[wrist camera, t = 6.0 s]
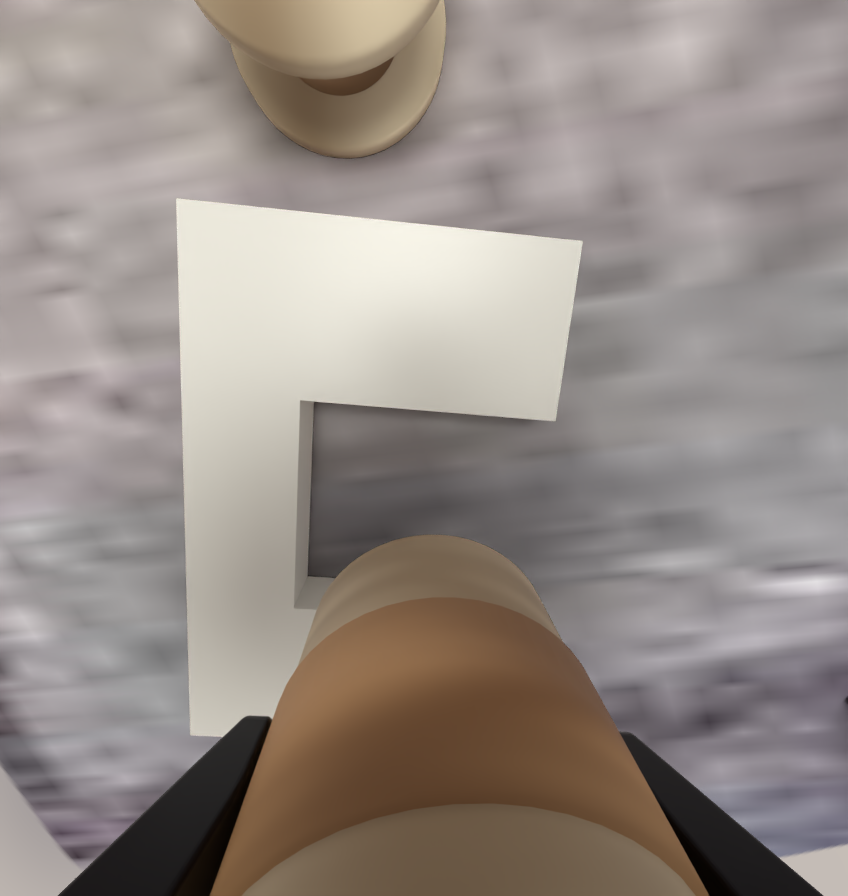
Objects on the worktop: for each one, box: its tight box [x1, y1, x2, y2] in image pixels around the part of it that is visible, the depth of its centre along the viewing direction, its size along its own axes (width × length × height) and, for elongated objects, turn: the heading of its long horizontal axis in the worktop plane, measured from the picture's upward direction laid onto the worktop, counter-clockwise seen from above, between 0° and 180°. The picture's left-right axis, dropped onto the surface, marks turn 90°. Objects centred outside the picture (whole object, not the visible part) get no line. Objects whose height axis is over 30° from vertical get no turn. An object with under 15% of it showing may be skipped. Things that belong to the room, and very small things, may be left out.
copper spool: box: [210, 535, 709, 896], centre depth 6 cm, size 5×5×8 cm
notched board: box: [176, 198, 583, 737], centre depth 18 cm, size 13×20×2 cm, turn 175°
